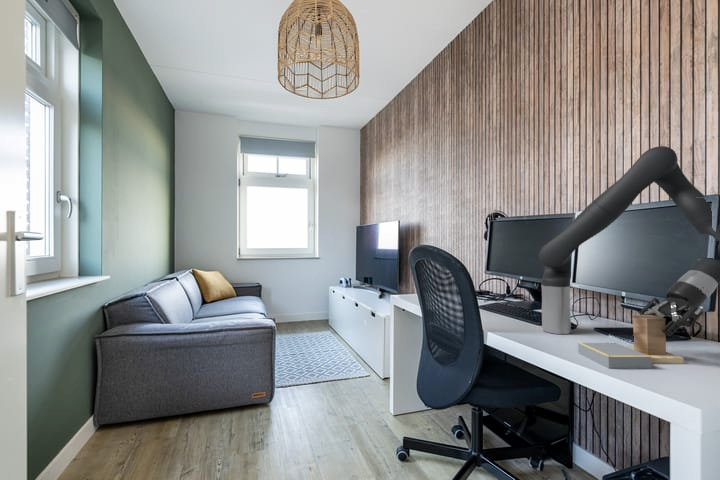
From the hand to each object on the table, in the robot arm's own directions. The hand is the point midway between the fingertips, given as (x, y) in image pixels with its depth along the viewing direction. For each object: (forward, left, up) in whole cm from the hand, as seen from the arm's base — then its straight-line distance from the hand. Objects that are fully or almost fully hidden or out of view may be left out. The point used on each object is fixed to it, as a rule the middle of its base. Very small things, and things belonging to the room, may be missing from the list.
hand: (652, 329), depth 98 cm
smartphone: (-16, +7, -9) cm, 19 cm away
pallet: (0, -1, -8) cm, 8 cm away
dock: (+2, -13, -8) cm, 15 cm away
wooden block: (0, -1, -6) cm, 6 cm away
